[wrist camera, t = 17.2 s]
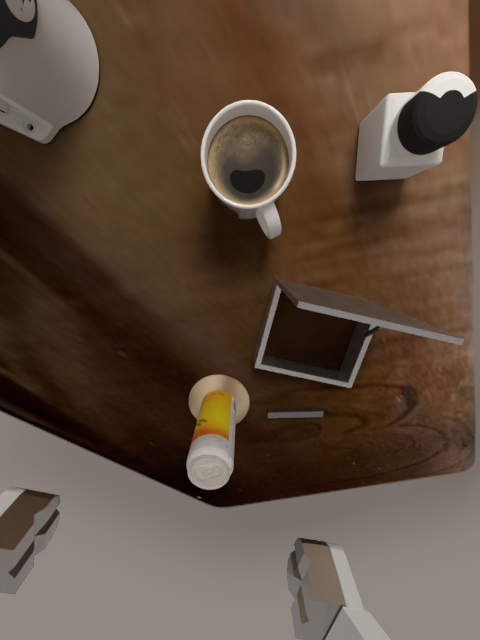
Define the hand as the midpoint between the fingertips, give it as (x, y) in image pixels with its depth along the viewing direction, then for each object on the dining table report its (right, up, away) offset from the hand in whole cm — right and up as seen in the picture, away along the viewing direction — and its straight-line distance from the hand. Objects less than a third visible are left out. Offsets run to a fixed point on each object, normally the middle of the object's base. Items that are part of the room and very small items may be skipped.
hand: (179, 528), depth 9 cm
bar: (+12, -10, +39) cm, 42 cm away
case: (+14, +6, +34) cm, 37 cm away
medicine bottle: (+22, +30, +27) cm, 46 cm away
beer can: (-2, -8, +38) cm, 38 cm away
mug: (+3, +26, +28) cm, 38 cm away
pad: (-2, -8, +38) cm, 39 cm away
